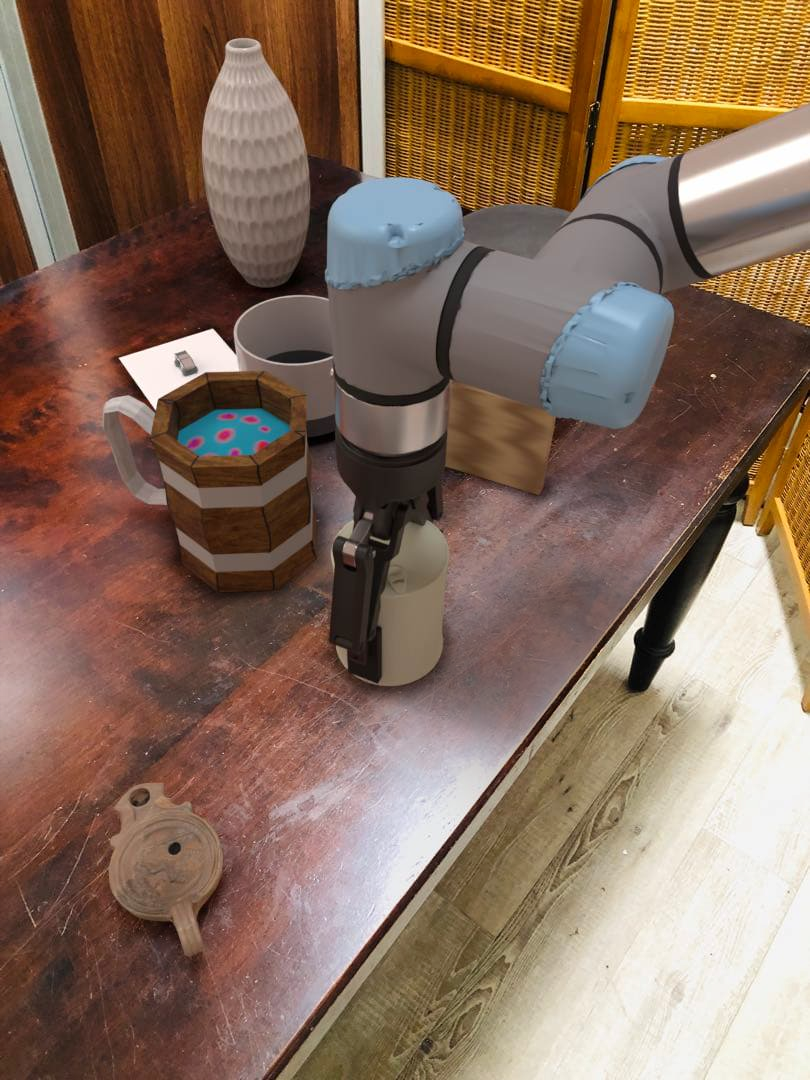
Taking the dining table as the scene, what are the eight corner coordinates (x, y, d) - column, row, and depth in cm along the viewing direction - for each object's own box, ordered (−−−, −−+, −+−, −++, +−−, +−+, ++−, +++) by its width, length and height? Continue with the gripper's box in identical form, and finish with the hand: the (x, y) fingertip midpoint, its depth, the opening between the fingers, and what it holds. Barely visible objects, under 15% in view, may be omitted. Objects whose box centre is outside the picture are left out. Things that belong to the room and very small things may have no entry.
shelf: (588, 396, 100) (607, 303, 91) (539, 495, 89) (556, 400, 80) (457, 361, 104) (464, 269, 96) (394, 451, 93) (396, 355, 84)
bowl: (474, 354, 105) (480, 295, 100) (416, 268, 119) (418, 212, 113) (631, 325, 110) (645, 267, 105) (558, 246, 124) (567, 191, 118)
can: (345, 695, 72) (339, 601, 63) (328, 609, 78) (321, 512, 69) (454, 677, 73) (464, 583, 65) (429, 593, 79) (435, 497, 71)
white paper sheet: (157, 412, 97) (154, 401, 96) (118, 358, 103) (115, 347, 102) (256, 378, 101) (254, 368, 100) (213, 328, 108) (211, 317, 107)
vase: (246, 245, 122) (218, 19, 102) (330, 262, 120) (319, 33, 99) (201, 290, 114) (161, 53, 94) (291, 309, 111) (270, 70, 91)
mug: (343, 510, 87) (337, 386, 76) (287, 611, 78) (271, 487, 67) (165, 465, 91) (135, 341, 80) (93, 556, 82) (48, 431, 71)
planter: (382, 424, 96) (382, 342, 88) (275, 462, 91) (265, 379, 84) (328, 363, 103) (324, 283, 96) (226, 396, 99) (214, 314, 91)
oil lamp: (99, 820, 64) (82, 787, 60) (199, 781, 66) (188, 747, 63) (142, 997, 56) (125, 971, 52) (254, 946, 58) (246, 917, 55)
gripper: (406, 327, 66) (401, 535, 82) (258, 510, 52) (288, 715, 69) (500, 352, 64) (476, 560, 80) (372, 549, 50) (374, 751, 67)
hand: (389, 632), depth 75 cm, fingers closed on can, 9 cm apart
